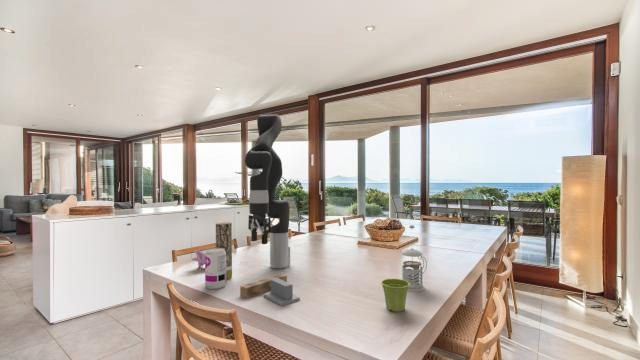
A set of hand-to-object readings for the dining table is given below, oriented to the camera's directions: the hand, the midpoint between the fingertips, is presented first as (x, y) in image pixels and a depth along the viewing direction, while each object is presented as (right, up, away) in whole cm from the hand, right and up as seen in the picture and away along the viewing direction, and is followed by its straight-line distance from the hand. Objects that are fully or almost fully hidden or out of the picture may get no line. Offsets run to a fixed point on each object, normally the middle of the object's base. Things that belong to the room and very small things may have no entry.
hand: (259, 242), depth 127 cm
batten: (+2, -19, 0) cm, 19 cm away
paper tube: (-19, -19, +15) cm, 31 cm away
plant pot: (+49, -19, -19) cm, 56 cm away
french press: (+62, -19, +2) cm, 65 cm away
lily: (-33, -19, +30) cm, 49 cm away
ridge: (+10, -19, -9) cm, 23 cm away
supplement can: (-19, -19, +5) cm, 27 cm away
